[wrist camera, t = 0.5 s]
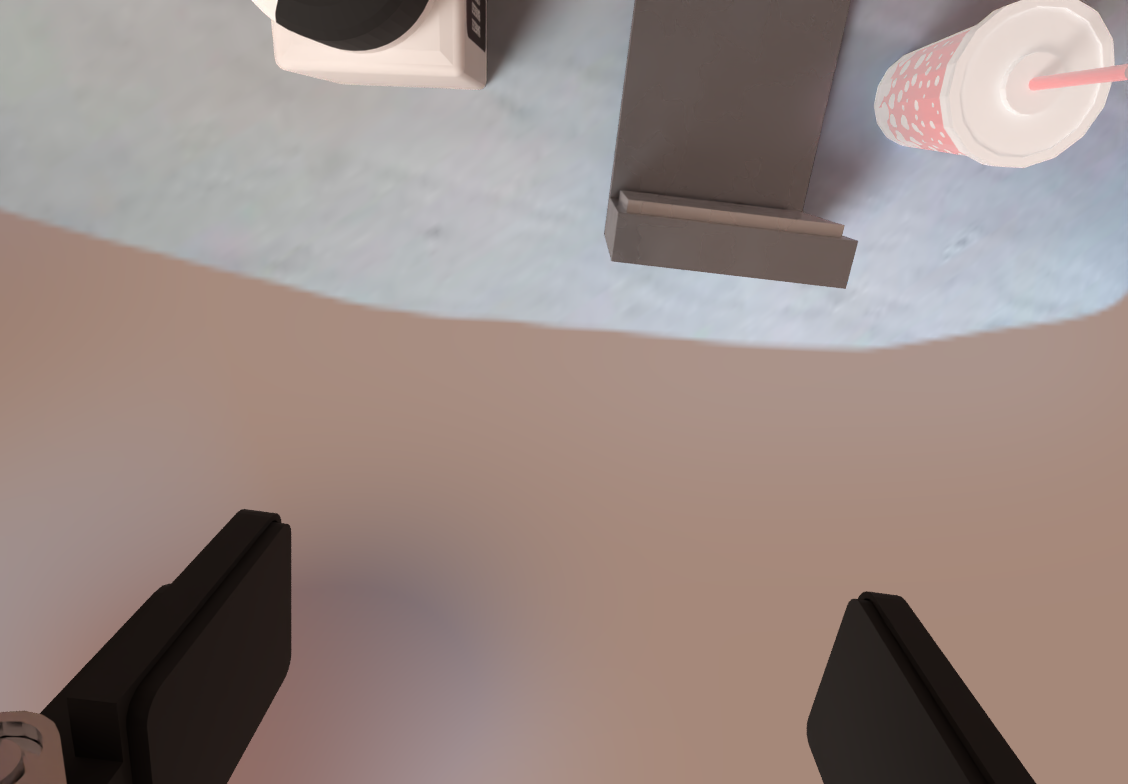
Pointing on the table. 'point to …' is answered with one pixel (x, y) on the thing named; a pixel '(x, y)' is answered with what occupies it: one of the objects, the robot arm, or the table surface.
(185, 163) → the table surface
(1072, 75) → the beverage cup
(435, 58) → the container
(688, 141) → the vise base
